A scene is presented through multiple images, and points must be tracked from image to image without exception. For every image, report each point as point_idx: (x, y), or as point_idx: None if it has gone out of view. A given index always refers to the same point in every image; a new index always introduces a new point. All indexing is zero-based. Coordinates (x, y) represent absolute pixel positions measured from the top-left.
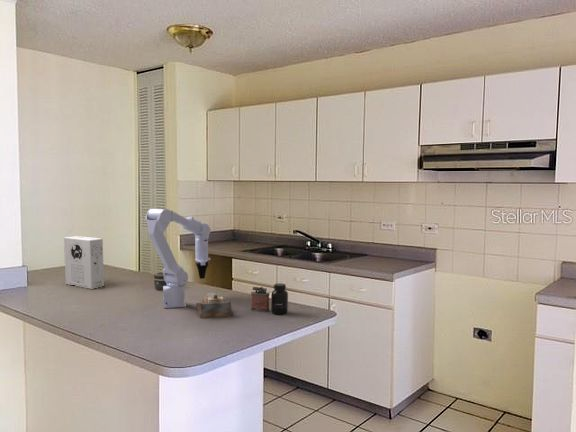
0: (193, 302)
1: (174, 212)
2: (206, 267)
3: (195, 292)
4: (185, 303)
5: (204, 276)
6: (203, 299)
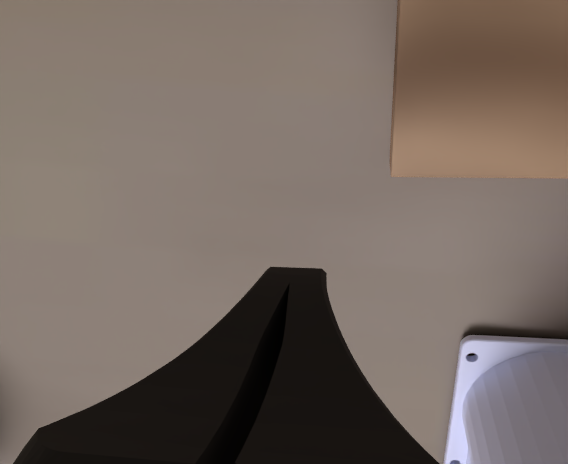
0: (483, 263)
1: None
2: (401, 434)
3: (41, 209)
4: (557, 346)
5: (324, 290)
6: (501, 172)
